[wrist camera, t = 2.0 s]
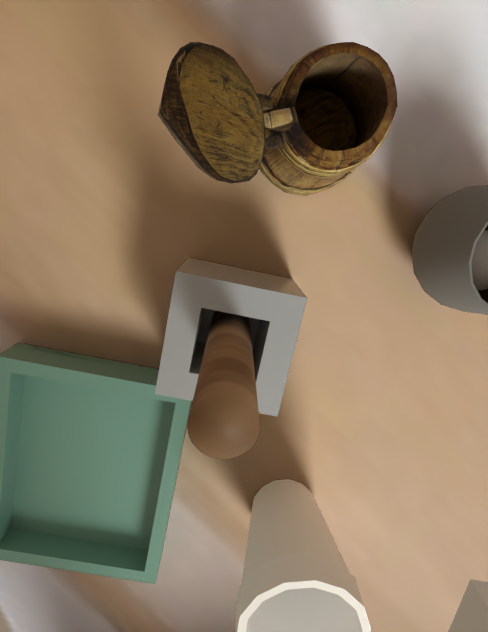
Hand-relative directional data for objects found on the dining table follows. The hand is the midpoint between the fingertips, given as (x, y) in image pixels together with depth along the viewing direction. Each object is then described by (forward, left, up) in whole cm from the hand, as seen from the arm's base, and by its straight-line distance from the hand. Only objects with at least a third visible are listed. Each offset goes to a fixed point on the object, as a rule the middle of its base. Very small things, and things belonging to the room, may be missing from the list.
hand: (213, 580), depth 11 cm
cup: (+10, -17, -27) cm, 34 cm away
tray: (-16, +10, -27) cm, 33 cm away
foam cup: (-18, -9, -27) cm, 34 cm away
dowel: (0, 0, -26) cm, 26 cm away
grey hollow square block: (0, 0, -27) cm, 27 cm away
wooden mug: (+15, -1, -27) cm, 31 cm away
